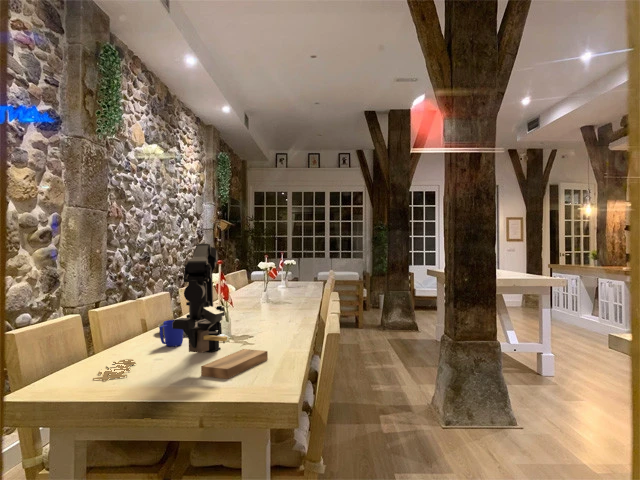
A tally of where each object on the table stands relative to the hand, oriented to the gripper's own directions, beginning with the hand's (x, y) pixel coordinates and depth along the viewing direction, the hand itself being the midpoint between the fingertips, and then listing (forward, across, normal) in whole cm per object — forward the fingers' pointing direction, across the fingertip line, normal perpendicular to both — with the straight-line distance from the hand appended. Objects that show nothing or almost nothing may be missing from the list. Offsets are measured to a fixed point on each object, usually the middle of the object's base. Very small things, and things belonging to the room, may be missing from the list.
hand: (198, 346), depth 151 cm
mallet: (+1, 0, -4) cm, 4 cm away
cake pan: (+9, +55, +51) cm, 75 cm away
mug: (+9, +28, +36) cm, 46 cm away
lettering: (+9, -7, +28) cm, 31 cm away
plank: (+8, +9, -8) cm, 15 cm away
